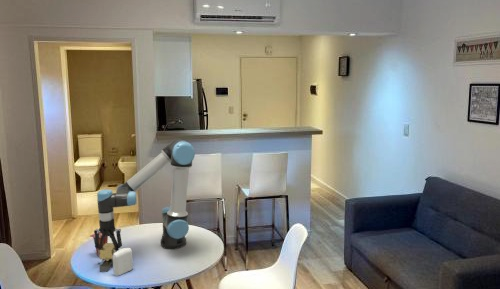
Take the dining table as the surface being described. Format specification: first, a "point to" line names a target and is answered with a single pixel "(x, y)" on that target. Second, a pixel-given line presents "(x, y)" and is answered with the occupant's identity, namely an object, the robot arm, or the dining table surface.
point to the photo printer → (122, 261)
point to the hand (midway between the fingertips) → (109, 259)
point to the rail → (106, 265)
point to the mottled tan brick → (107, 251)
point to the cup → (99, 241)
